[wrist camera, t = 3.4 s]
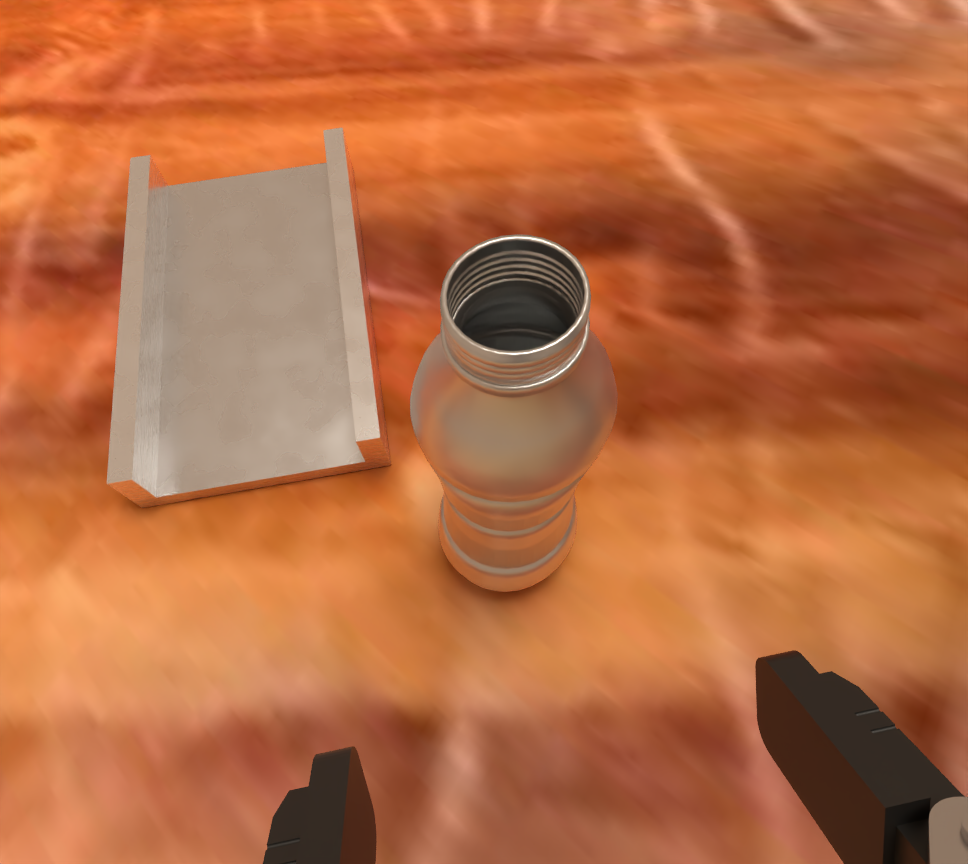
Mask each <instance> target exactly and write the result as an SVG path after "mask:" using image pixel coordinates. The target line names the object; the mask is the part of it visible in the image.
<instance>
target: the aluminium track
mask: <svg viewBox="0 0 968 864" xmlns="http://www.w3.org/2000/svg"><path fill="white" fill-rule="evenodd" d="M324 140H325V149H326V159H327V163H322V164H315V165H308V166H302V167H295V168H288V169H281V170H274V171H267V172H260V173H254V174H247V175H240V176H233V177H226V178H219V179H212V180H206V181H199V182H192V183H185V184H178V185H171V186H168V185H167V183H166V181H165V179H164V178H163V176H162V174H161V173H160V171H159V169H158V168H157V166H156V164H155V162H154V161H153V159H152V157H151V156H150V155H148V156H141V157H134V158H131V160H130V174H129V187H128V201H127V215H126V228H125V242H124V255H123V269H122V283H121V296H120V310H119V324H118V337H117V351H116V364H115V378H114V392H113V405H112V419H111V433H110V446H109V460H108V474H107V484H108V485H109V486H111V487H112V488H113V489H115V490H116V491H118V492H119V493H121V494H122V495H124V496H125V497H127V498H128V499H130V500H131V501H133V502H134V503H136V504H137V505H139V506H140V507H142V508H145V507H151V506H156V505H162V504H168V503H174V502H180V501H186V500H191V499H197V498H203V497H209V496H215V495H220V494H226V493H232V492H238V491H244V490H249V489H255V488H261V487H267V486H273V485H279V484H284V483H290V482H296V481H302V480H308V479H313V478H319V477H325V476H331V475H337V474H343V473H348V472H354V471H360V470H366V469H372V468H377V467H383V466H389V465H391V462H390V454H389V446H388V438H387V430H386V423H385V415H384V407H383V399H382V391H381V383H380V375H379V368H378V360H377V352H376V344H375V336H374V328H373V320H372V313H371V305H370V297H369V289H368V281H367V273H366V265H365V258H364V250H363V242H362V234H361V226H360V218H359V210H358V202H357V195H356V187H355V179H354V171H353V167H352V163H351V159H350V155H349V151H348V147H347V144H346V140H345V136H344V132H343V128H337V129H330V130H324Z"/></svg>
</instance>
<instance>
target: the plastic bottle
mask: <svg viewBox="0 0 968 864" xmlns="http://www.w3.org/2000/svg"><path fill="white" fill-rule="evenodd" d="M590 301H591V294H590V286H589V280H588V277H587V275H586V272H585V270H584V268H583V267H582V265H581V264H580V262H579V261H578V260H577V258H576V257H575V256H573V255H572V254H571V253H570V252H569V251H568V250H567V249H565V248H563V247H562V246H560V245H558V244H557V243H555V242H552V241H549V240H547V239H544V238H540V237H536V236H531V235H507V236H500V237H496V238H493V239H489V240H486V241H484V242H482V243H479V244H477V245H475V246H474V247H472V248H471V249H469V250H468V251H466V252H465V253H464V254H462V255H461V256H460V257H459V258H458V259H457V260H456V261H455V262H454V264H453V265H452V266H451V268H450V269H449V271H448V272H447V275H446V277H445V279H444V281H443V285H442V290H441V297H440V309H441V316H442V321H441V333H439V334H438V335H437V336H436V337H435V339H434V340H433V342H432V343H431V344H430V346H429V347H428V349H427V350H426V352H425V354H424V356H423V358H422V361H421V363H420V365H419V367H418V370H417V373H416V376H415V379H414V382H413V387H412V392H411V397H410V412H411V420H412V424H413V428H414V432H415V435H416V437H417V440H418V442H419V445H420V447H421V449H422V451H423V453H424V455H425V457H426V459H427V461H428V462H429V463H430V465H431V467H432V468H433V470H434V471H435V473H436V474H437V476H438V477H439V479H440V481H441V484H442V487H443V489H444V495H443V497H442V500H441V506H440V512H439V519H438V532H439V538H440V542H441V546H442V549H443V551H444V553H445V555H446V557H447V559H448V560H449V562H450V563H451V564H452V566H453V567H454V568H455V569H456V570H457V571H458V572H459V573H460V574H461V575H463V576H464V577H465V578H466V579H468V580H469V581H470V582H472V583H474V584H476V585H478V586H480V587H482V588H485V589H489V590H492V591H501V592H510V591H519V590H522V589H525V588H528V587H531V586H533V585H535V584H537V583H538V582H540V581H542V580H543V579H545V578H546V577H548V576H549V575H550V574H551V573H552V572H554V571H555V570H556V569H557V568H558V567H559V566H560V564H561V563H562V562H563V561H564V560H565V558H566V557H567V555H568V553H569V551H570V549H571V547H572V545H573V541H574V538H575V534H576V526H577V510H576V502H575V497H574V492H575V489H576V487H577V485H578V483H579V481H580V480H581V478H582V477H583V476H584V474H585V473H586V472H587V470H588V469H589V468H590V466H591V465H592V464H593V462H594V461H595V460H596V459H597V457H598V455H599V454H600V452H601V450H602V448H603V446H604V444H605V442H606V440H607V438H608V436H609V434H610V433H611V431H612V427H613V424H614V420H615V416H616V413H617V389H616V383H615V378H614V374H613V370H612V366H611V362H610V360H609V358H608V355H607V353H606V350H605V348H604V347H603V345H602V344H601V342H600V341H599V339H598V338H597V336H596V335H595V334H594V333H593V332H592V331H591V330H590V329H589V326H590V322H589V310H590Z"/></svg>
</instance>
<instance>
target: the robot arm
mask: <svg viewBox="0 0 968 864" xmlns="http://www.w3.org/2000/svg"><path fill="white" fill-rule="evenodd" d="M756 696H757V721H758V726H759V730H760V734H761V737H762V739H763V742H764V744H765V746H766V748H767V750H768V752H769V753H770V755H771V756H772V758H773V759H774V761H775V762H776V764H777V765H778V767H779V768H780V770H781V771H782V773H783V774H784V776H785V777H786V779H787V780H788V782H789V783H790V785H791V786H792V787H793V789H794V790H795V792H796V793H797V795H798V796H799V798H800V799H801V801H802V802H803V804H804V805H805V807H806V808H807V810H808V811H809V813H810V814H811V816H812V817H813V818H814V820H815V821H816V823H817V824H818V826H819V827H820V829H821V830H822V832H823V833H824V835H825V836H826V838H827V839H828V841H829V842H830V844H831V845H832V846H833V848H834V849H835V851H836V852H837V854H838V855H839V857H840V858H841V860H842V861H843V863H844V864H968V797H965V796H963V795H962V794H961V793H960V792H959V791H958V790H957V789H956V788H955V787H954V786H953V785H952V783H951V782H950V781H949V780H948V779H947V778H946V777H945V776H944V775H943V774H942V773H941V772H940V771H939V770H938V769H937V768H936V767H935V766H934V765H933V764H932V763H931V762H930V761H929V760H928V759H927V757H926V756H925V755H924V754H923V753H922V752H921V751H920V750H919V749H918V748H917V747H916V746H915V745H914V744H913V743H912V742H911V741H910V740H909V739H908V738H907V737H906V736H905V735H904V734H903V733H902V731H901V730H900V729H896V727H895V724H894V723H893V722H892V721H891V720H890V719H889V718H888V717H887V716H886V715H885V714H884V713H883V712H880V711H879V708H878V707H877V705H876V704H875V703H874V702H873V701H872V700H871V699H870V698H869V697H868V696H867V695H866V694H865V693H864V692H863V691H862V690H861V689H860V688H859V687H858V686H856V685H854V684H853V683H851V682H849V681H847V680H846V679H844V678H842V677H840V676H839V675H837V674H835V673H833V672H832V671H831V672H826V673H822V674H819V673H818V672H817V671H816V670H815V669H814V668H813V666H812V665H811V664H810V663H809V662H808V661H807V660H806V659H805V658H804V656H803V655H802V654H801V653H799V652H798V651H789V652H784V653H780V654H775V655H770V656H766V657H761V658H758V659H757V661H756ZM375 861H376V824H375V816H374V810H373V806H372V802H371V798H370V795H369V791H368V788H367V784H366V781H365V777H364V773H363V770H362V766H361V763H360V759H359V756H358V753H357V750H356V748H355V747H354V746H353V747H348V748H344V749H339V750H334V751H330V752H325V753H320V754H316V755H315V757H314V759H313V764H312V770H311V776H310V782H309V786H308V787H304V788H299V789H295V790H290V791H289V792H288V794H287V795H286V797H285V799H284V800H283V802H282V803H281V805H280V807H279V808H278V810H277V811H276V813H275V815H274V816H273V820H272V824H271V829H270V833H269V838H268V843H267V850H266V852H265V857H264V861H263V864H375Z"/></svg>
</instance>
